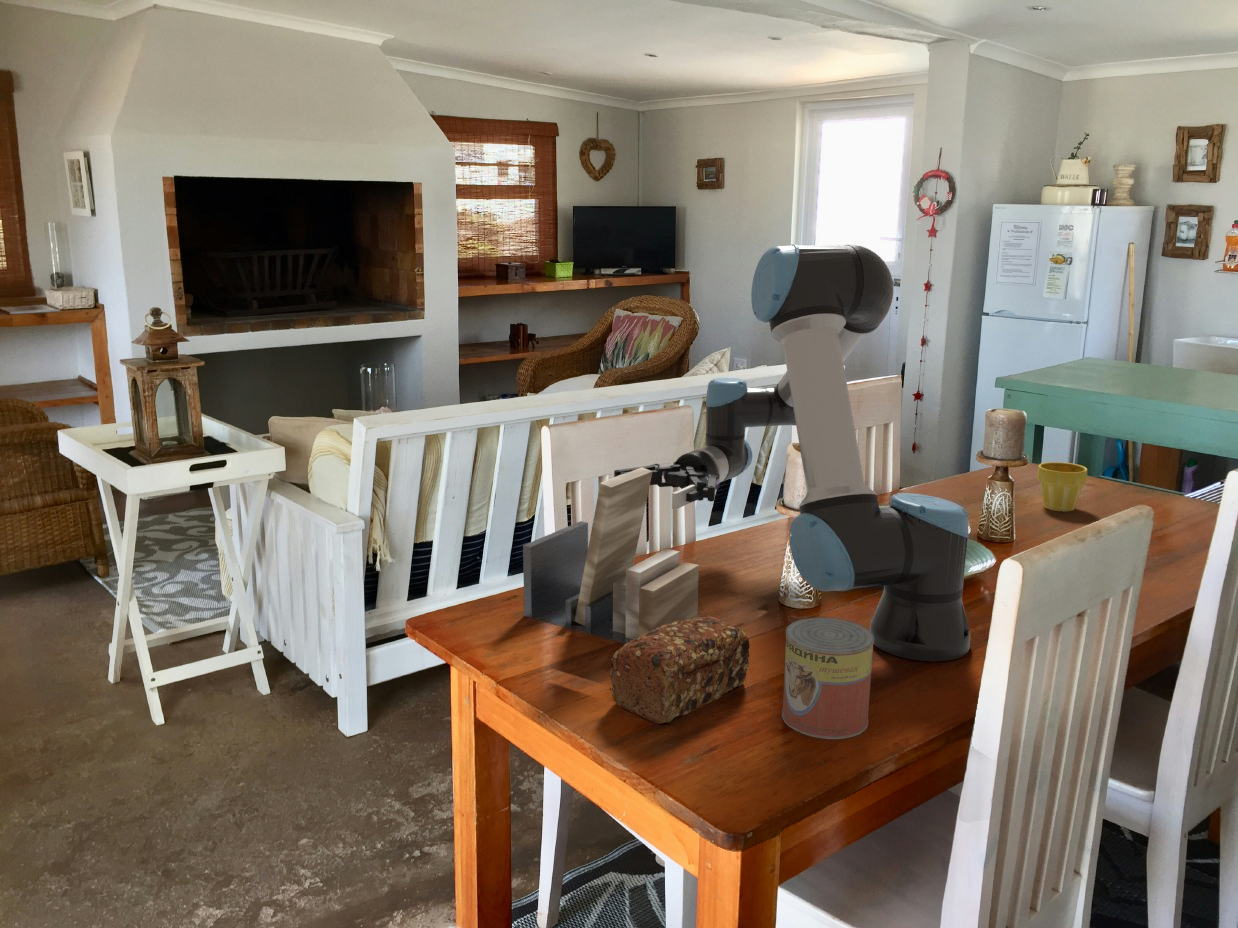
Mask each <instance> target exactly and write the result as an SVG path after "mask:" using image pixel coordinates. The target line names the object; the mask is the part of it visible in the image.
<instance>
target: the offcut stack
mask: <svg viewBox="0 0 1238 928" xmlns="http://www.w3.org/2000/svg"><path fill="white" fill-rule="evenodd" d="M680 553H681V552H680V550H679V551H678V550H674V549H669V548H665V549H663V550H661V551H658V552H657V553H655V554H654V555H652V556H649V557H647V558H645V559H644V560H642V561H640V562H638V563H636V564H633V566H632V567H630V568H628V569H626V576H624V577H622V578H621V579H619V580H617V581H615V582H613V631H616V632H620V633H624V634H626V637H627V638H631V639H636V638H638V637H639V636H640V635H641V634H645V633H648V632H650V631H652V630H655V629H656V628H660V627H661V626H663V625H665V624H669V623H671V622H674V621H677V620H686V619H687V620H689V619H693V618H697V617H698V615H699V614H698V613H699V611H698V610H699V579H700V578H699V575H700V572H699V571H700V564H695V563H691V562H687V561H685V562H683V563H681V564H680V556H681V555H680Z"/></svg>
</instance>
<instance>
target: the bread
mask: <svg viewBox="0 0 1238 928" xmlns="http://www.w3.org/2000/svg"><path fill="white" fill-rule="evenodd" d="M750 648H751V647H750V640H749V638H748V636H747V634H746V633H745V632H744V631H743V630H742V629H740V628H739V627H736V626H734V625H731V624H730V623H728V622H726V621H723V620H722V619H719V618H716V617H713V616H710V615H706V614H705V615H699V617H697V618H693V619H689V620H687V619H686V620H677V621H674V622H671V623H669V624H665V625H663V626H661V627H660V628H656V629H655V630H652V631H650V632H648V633H645V634H641V635H640V636H639V637H638V638H636V639H634V640H630V642H629V643H627V644H625V643H624V645H623V646H622V647H619V649H618V650H617V651H615V653H614V654H613V655H612V658H610V660H611V665H610V670H609V675H610V676H609V680H610V682H611V685H612V688H611V691H612V698H613V701H614V702H615V703H616V704H617V706H620V708H622V709H624V710H626V711H629V712H631V714H634V715H637V716H639V717H641V718H642V719H645V720H648V721H649V722H651V723H653V724H657V725H661V724H666V723H669V724H670V723H671V722H672V721H673V720H674V718H676V717H681V716H685V715H688V714H690V713H692V712H694V711H695V710H697V709H700V708H702V707H704V706H705V705H707V704H710V703H712V702H714V701H716V700H718V699H720V698H721V697H722V696H723V695H725V694H727V693H728V692H729V691H733V689H734V688H736V687H740V686H742V685H743V684H744V682H745V681H746V679H747V671H748V668H749V667H750V662H749V658H750Z"/></svg>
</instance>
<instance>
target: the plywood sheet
mask: <svg viewBox="0 0 1238 928" xmlns="http://www.w3.org/2000/svg"><path fill="white" fill-rule="evenodd" d="M640 467H641V468H639V469H636V470H633V471H631V472H628V473H626V474H623V475H620V476H618V477H615V478H614V477H612V479H611V478H609V479H610V480H609V479H607V481H606V480H604V481H602V482H599V488H598V493H597V499H596V504H595V508H594V509H595V511H594V515H593V520H592V526H591V531H590V536H589V540H588V552H587V557H586V562H585V568H584V573H583V578H582V584H581V589H580V594H579V600H578V605H577V610H576V616H575V622H577V623H579V624H581V625H583V626H585V605H587V604H589V603H591V602H593V601H595V600H597V599H598V598H600V597H602V596H604V595H606V594H608V593H609V592H611V591H613V582H615V581H617V580H619V579H621V578H622V577H624V576H626V569H628V568H630V567H632V566H634V565H635V564H634V563H635V559H636V554H637V548H638V544H639V539H640V535H641V534H640V533H641V530H642V524H643V520H644V516H645V509H646V505H647V501H648V495H649V490H650V487H651V485H650V481H651V476H652V472H653V471H650V470H648V469H645V468H643V466H640Z"/></svg>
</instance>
